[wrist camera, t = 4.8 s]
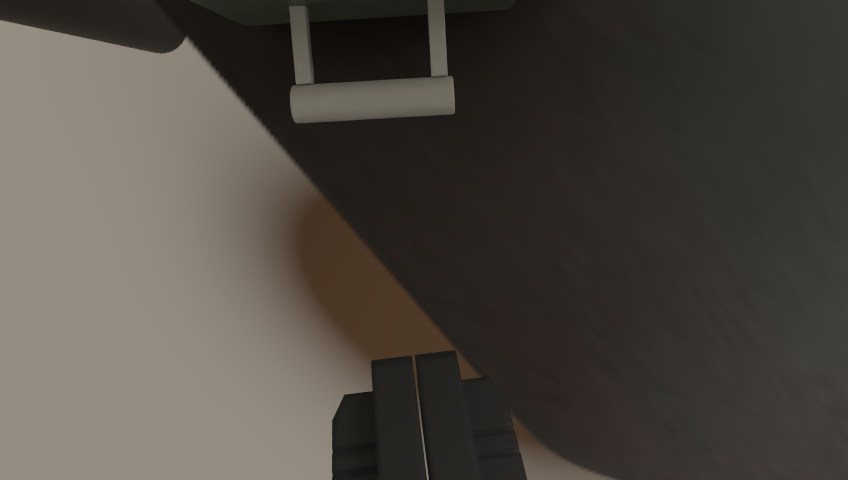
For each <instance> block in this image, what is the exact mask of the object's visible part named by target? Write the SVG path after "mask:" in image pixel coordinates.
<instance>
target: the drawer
mask: <svg viewBox="0 0 848 480" xmlns="http://www.w3.org/2000/svg"><path fill="white" fill-rule="evenodd" d="M189 1H191V2H193V3H196V4H198V5H200V6H202V7H204V8H207V9H209V10H211V11H213V12H215V13H218V14H220V15H222V16H224V17H226V18H229V19H231V20H233V21H235V22H237V23H240V24H242V25H244V26H255V25H271V24H287V23H291V34H292V45H293V56H294V68H295V79H296V84H297V85H294V86H292V87H291V91H290V106H291V112H292V116H293V119H294V121H295V123H313V122H330V121H347V120H364V119H381V118H398V117H415V116H432V115H449V114H454V112H455V98H454V81H453V77H452V76H447V75H448V72H447V52H446V32H445V14H447V13H463V12H479V11H495V10H509V9H510V8H511V7H512V6H513V4H514V3H515V2H516V0H189ZM415 15H428V25H429V43H430V61H431V76H432V77H424V78H408V79H391V80H374V81H358V82H341V83H325V84H314V73H313V61H312V50H311V38H310V26H309V22H319V21H335V20H351V19H367V18H383V17H399V16H415Z"/></svg>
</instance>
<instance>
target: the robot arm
mask: <svg viewBox="0 0 848 480" xmlns="http://www.w3.org/2000/svg"><path fill="white" fill-rule="evenodd" d="M415 359H416V369H417V379H418V389H419V399H420V409H421V418H422V427H423V435H424V443H425V452H426V459H427V468H428V475H429V480H527V476H526V473H525V469H524V465H523V461H522V457H521V453H520V452H519V445H518V441H517V438H516V434H515V431H514V427H513V422H512V418H511V414H510V410H509V406H508V403H507V399H506V397H505V396H504V395H503V394H502V392H501V391H500V390H499V389H498V388H497V386H496V385H495V384H494V383H493V381H492V380H491V379H490V378H489V377H483V378H475V379H466V380H461V375H460V370H459V365H458V359H457V355H456V351H455V350H452V351H445V352H436V353H428V354H419V355H415ZM371 365H372V366H371V368H372V384H373V385H372V386H373V391H372V392H363V393H355V394H347V395H344V397H343V399H342V401H341V403H340V406H339V408H338V410H337V412H336V414H335V416H334V418H333V420H332V449H333V454H332V474H333V477H332V480H427V477H426V469H425V461H424V452H423V444H422V436H421V428H420V420H419V411H418V404H417V395H416V387H415V380H414V371H413V363H412V356H405V357H396V358H388V359H380V360H372V362H371Z"/></svg>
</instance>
